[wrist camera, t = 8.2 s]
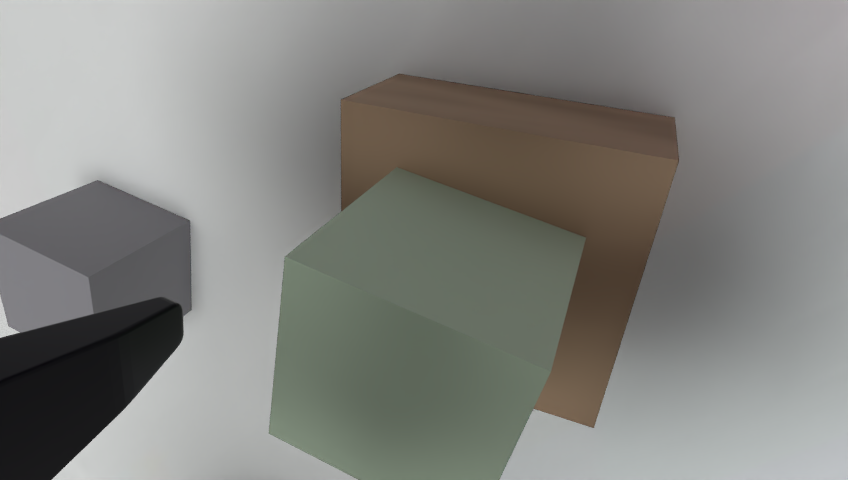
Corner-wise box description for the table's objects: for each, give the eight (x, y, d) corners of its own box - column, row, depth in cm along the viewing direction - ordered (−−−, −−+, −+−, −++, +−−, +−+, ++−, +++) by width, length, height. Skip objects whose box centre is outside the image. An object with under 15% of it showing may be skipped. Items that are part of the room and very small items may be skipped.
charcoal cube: (192, 308, 26) (102, 376, 21) (109, 268, 27) (8, 326, 22) (191, 220, 23) (88, 277, 19) (99, 179, 24) (-18, 225, 20)
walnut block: (605, 344, 18) (593, 427, 15) (392, 284, 21) (342, 345, 17) (674, 114, 15) (678, 160, 11) (403, 72, 17) (340, 99, 14)
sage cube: (521, 382, 15) (471, 537, 11) (366, 313, 16) (268, 433, 12) (586, 237, 13) (550, 371, 9) (397, 167, 14) (285, 256, 10)
